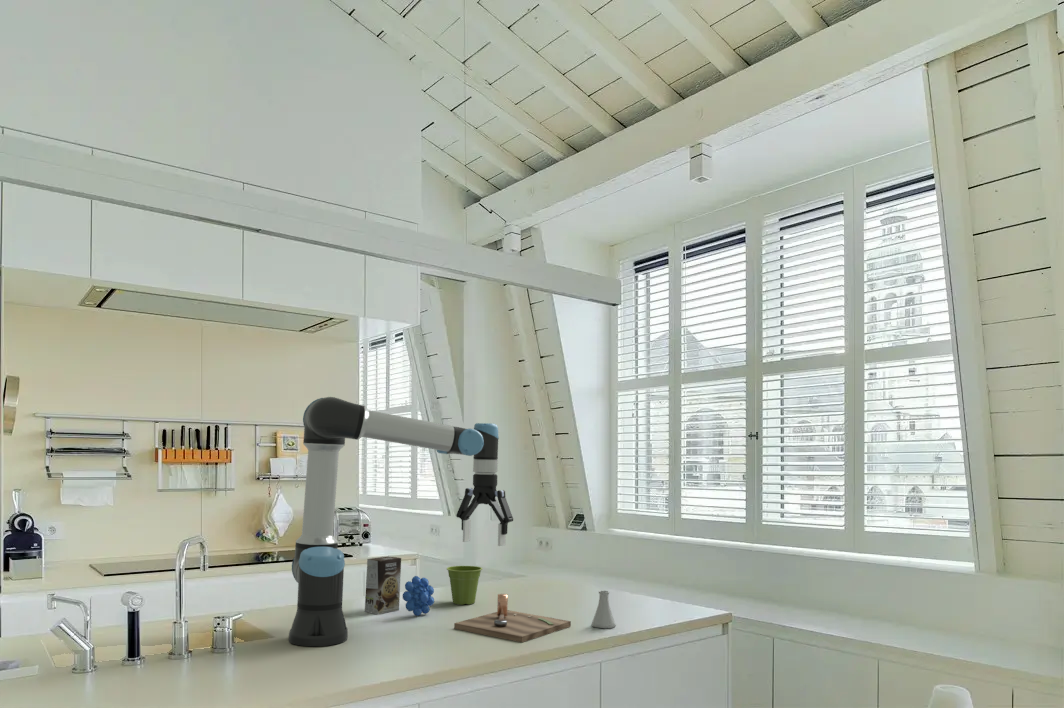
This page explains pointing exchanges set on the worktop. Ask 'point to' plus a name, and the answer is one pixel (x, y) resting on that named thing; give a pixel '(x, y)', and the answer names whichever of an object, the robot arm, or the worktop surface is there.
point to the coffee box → (383, 585)
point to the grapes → (418, 595)
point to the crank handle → (502, 610)
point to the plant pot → (464, 583)
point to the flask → (603, 612)
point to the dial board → (513, 626)
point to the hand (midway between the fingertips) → (483, 543)
